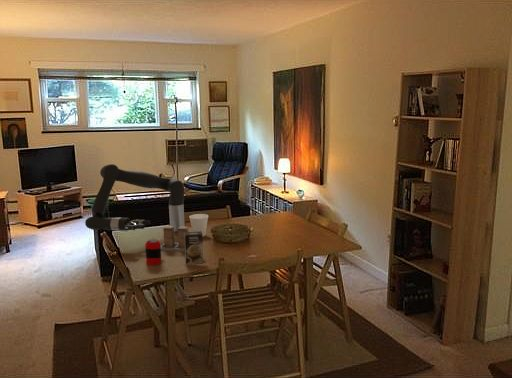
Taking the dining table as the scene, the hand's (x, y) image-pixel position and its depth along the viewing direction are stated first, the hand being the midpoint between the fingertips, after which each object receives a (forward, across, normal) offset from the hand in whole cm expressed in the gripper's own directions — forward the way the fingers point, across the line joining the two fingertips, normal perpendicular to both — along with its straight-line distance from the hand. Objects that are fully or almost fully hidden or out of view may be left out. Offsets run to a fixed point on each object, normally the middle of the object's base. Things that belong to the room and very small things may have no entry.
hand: (147, 224), depth 264 cm
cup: (+21, +29, +15) cm, 39 cm away
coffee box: (+33, -19, +15) cm, 41 cm away
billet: (+13, -1, +13) cm, 18 cm away
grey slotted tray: (+17, -1, +14) cm, 22 cm away
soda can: (+12, -22, +14) cm, 29 cm away
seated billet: (+21, -1, +13) cm, 25 cm away
